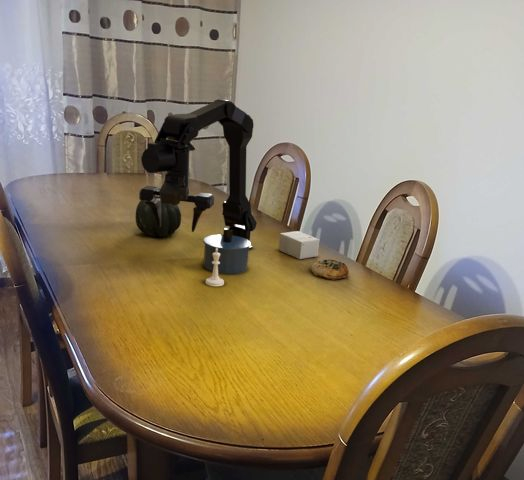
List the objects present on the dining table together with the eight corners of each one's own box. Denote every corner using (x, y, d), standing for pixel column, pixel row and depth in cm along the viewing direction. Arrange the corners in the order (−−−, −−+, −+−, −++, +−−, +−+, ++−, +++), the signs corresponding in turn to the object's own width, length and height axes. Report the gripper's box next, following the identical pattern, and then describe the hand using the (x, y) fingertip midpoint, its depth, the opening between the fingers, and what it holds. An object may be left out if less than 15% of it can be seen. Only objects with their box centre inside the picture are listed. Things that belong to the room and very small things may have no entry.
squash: (197, 220, 182) (173, 179, 181) (166, 230, 171) (141, 186, 170) (172, 240, 192) (149, 201, 191) (141, 251, 180) (117, 210, 179)
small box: (277, 249, 181) (299, 259, 174) (279, 232, 178) (301, 242, 171) (296, 247, 185) (317, 256, 178) (298, 230, 183) (320, 239, 176)
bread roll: (351, 270, 168) (353, 255, 165) (343, 287, 159) (345, 271, 157) (315, 265, 171) (316, 249, 168) (305, 280, 162) (306, 264, 160)
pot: (209, 257, 167) (210, 234, 164) (249, 263, 166) (252, 240, 163) (199, 270, 156) (200, 246, 153) (242, 276, 155) (244, 252, 152)
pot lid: (209, 235, 165) (210, 220, 163) (253, 242, 164) (255, 226, 162) (198, 248, 153) (199, 231, 151) (245, 255, 152) (247, 238, 150)
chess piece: (204, 285, 147) (206, 248, 142) (206, 278, 151) (208, 242, 147) (223, 287, 147) (225, 250, 142) (224, 280, 151) (227, 244, 147)
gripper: (131, 170, 138) (132, 232, 145) (206, 179, 136) (203, 242, 143) (146, 163, 148) (146, 222, 155) (216, 171, 146) (212, 230, 153)
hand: (176, 229), depth 151 cm, fingers open, 9 cm apart
